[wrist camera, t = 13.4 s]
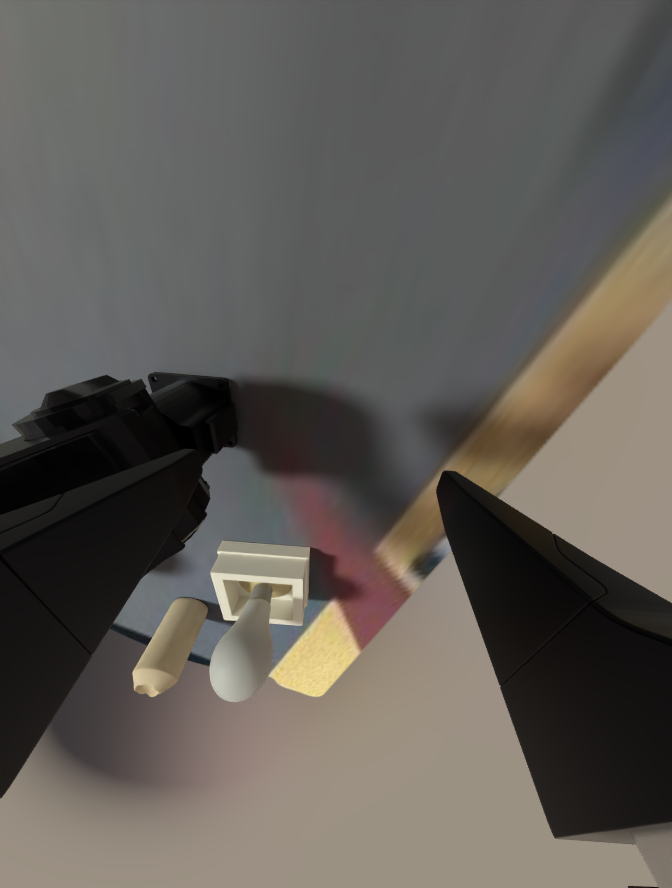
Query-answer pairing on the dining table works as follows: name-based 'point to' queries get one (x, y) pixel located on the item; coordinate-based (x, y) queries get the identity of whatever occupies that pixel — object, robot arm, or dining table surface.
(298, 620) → the socket
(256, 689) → the lightbulb
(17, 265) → the dining table surface
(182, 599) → the candle
